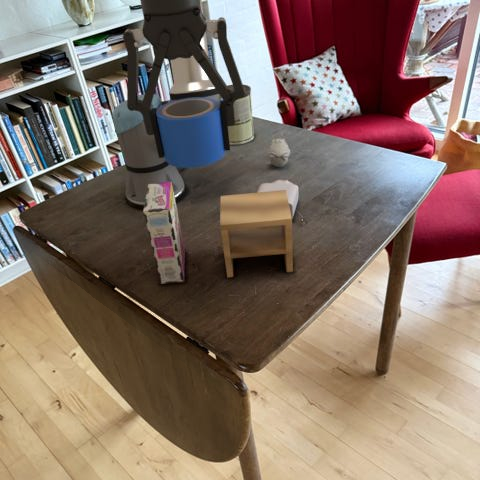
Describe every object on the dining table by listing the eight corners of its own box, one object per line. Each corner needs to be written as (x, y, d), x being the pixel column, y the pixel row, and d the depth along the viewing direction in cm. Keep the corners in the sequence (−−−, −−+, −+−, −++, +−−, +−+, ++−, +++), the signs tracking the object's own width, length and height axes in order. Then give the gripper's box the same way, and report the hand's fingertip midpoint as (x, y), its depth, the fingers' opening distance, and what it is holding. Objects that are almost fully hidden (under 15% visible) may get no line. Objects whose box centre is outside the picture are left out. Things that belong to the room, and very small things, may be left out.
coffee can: (214, 139, 143) (208, 91, 133) (239, 129, 147) (235, 81, 138) (235, 147, 137) (230, 98, 127) (261, 136, 141) (258, 87, 132)
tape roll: (167, 145, 76) (158, 100, 71) (225, 139, 75) (219, 93, 71) (163, 171, 69) (152, 122, 64) (226, 164, 68) (220, 115, 64)
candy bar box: (186, 282, 91) (169, 208, 80) (161, 285, 91) (141, 212, 80) (186, 250, 99) (172, 180, 88) (163, 253, 99) (146, 183, 88)
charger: (302, 189, 114) (292, 221, 104) (266, 188, 116) (253, 219, 106) (302, 171, 111) (292, 202, 101) (265, 171, 113) (251, 201, 103)
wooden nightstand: (227, 246, 99) (220, 195, 91) (287, 240, 98) (285, 189, 90) (227, 277, 91) (220, 225, 83) (292, 271, 90) (291, 218, 82)
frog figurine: (290, 159, 128) (289, 134, 123) (290, 170, 123) (290, 144, 118) (268, 160, 128) (267, 135, 124) (267, 172, 123) (266, 146, 118)
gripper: (70, -12, 54) (121, 168, 69) (257, -35, 53) (267, 152, 69) (83, -20, 60) (127, 148, 75) (253, -41, 59) (263, 133, 74)
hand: (194, 150), depth 72 cm, fingers closed on tape roll, 10 cm apart
